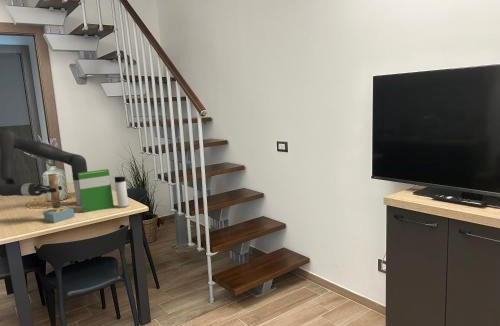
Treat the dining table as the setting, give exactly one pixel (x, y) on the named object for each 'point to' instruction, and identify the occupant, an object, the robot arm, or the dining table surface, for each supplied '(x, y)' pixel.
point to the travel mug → (121, 192)
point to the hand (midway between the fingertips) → (58, 189)
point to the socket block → (58, 214)
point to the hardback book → (96, 190)
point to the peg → (54, 195)
